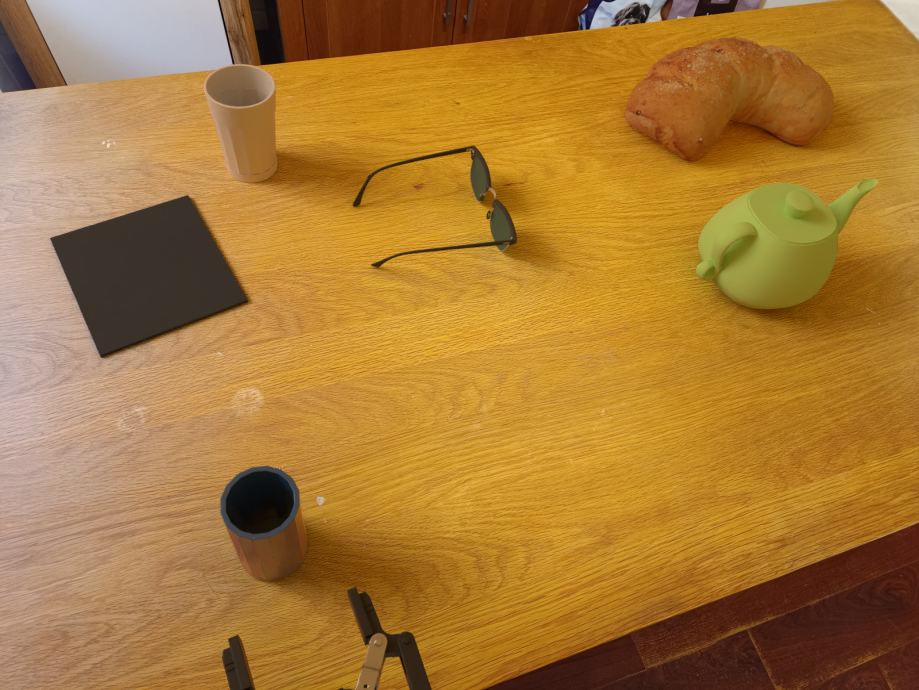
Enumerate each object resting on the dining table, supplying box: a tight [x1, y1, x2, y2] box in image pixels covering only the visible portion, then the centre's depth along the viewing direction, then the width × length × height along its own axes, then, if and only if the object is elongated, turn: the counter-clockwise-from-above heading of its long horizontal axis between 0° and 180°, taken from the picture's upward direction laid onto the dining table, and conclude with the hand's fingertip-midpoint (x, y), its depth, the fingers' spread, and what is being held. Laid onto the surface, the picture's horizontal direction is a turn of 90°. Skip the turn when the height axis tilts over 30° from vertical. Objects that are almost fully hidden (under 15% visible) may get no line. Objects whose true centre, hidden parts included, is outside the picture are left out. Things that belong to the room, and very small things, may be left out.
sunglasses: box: [352, 145, 518, 268], centre depth 90 cm, size 16×17×5 cm
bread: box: [624, 36, 835, 162], centre depth 107 cm, size 32×20×10 cm, turn 107°
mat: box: [49, 194, 249, 358], centre depth 83 cm, size 16×18×1 cm
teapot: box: [695, 177, 879, 310], centre depth 89 cm, size 22×15×13 cm
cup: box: [203, 63, 279, 184], centre depth 89 cm, size 8×8×12 cm
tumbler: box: [219, 465, 308, 582], centre depth 63 cm, size 6×6×11 cm
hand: (294, 614), depth 53 cm, fingers open, 8 cm apart
